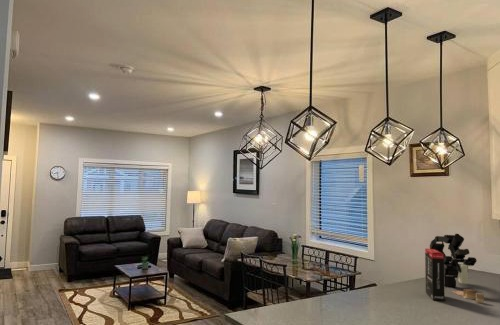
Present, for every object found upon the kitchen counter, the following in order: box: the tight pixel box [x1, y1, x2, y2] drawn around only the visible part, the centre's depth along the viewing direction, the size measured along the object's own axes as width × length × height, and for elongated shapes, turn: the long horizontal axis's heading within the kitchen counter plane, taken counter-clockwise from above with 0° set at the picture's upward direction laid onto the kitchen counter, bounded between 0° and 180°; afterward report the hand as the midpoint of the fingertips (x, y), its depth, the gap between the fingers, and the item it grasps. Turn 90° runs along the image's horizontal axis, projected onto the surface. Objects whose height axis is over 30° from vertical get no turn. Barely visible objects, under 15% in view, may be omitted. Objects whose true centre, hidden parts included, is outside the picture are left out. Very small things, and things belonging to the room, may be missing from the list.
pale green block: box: [458, 263, 469, 285], centre depth 228 cm, size 4×4×11 cm
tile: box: [451, 290, 464, 296], centre depth 228 cm, size 9×9×1 cm
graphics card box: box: [424, 248, 446, 302], centre depth 218 cm, size 17×7×27 cm, turn 168°
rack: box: [461, 288, 485, 304], centre depth 215 cm, size 13×8×5 cm, turn 176°
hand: (464, 272), depth 227 cm, fingers closed on pale green block, 3 cm apart
